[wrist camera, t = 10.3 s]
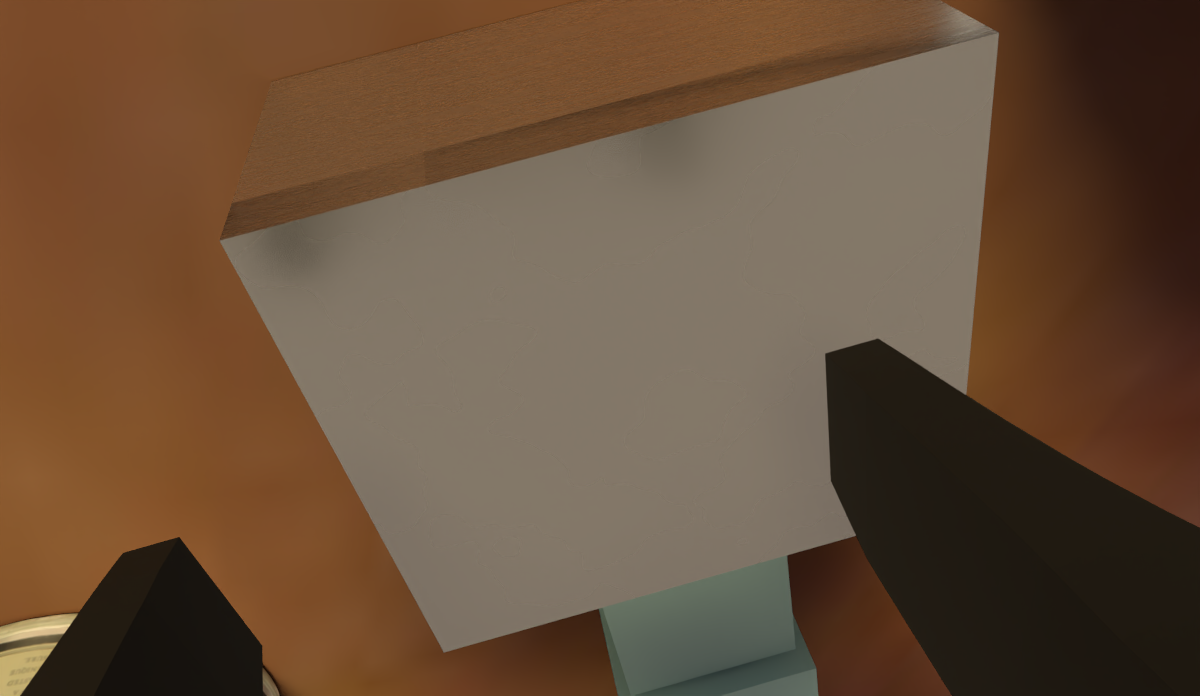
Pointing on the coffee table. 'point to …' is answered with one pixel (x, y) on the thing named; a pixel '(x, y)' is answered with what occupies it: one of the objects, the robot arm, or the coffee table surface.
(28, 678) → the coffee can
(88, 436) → the coffee table surface
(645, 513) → the housing
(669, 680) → the end cover
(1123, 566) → the robot arm
